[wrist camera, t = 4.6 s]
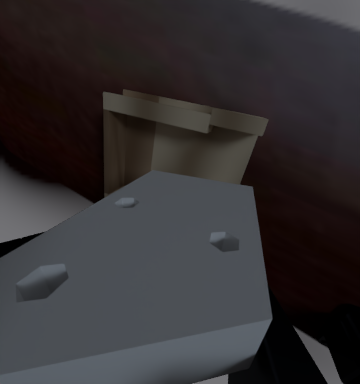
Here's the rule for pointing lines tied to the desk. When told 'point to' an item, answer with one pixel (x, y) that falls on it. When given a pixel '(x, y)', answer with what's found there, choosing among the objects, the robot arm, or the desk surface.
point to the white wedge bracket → (138, 289)
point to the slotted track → (174, 139)
